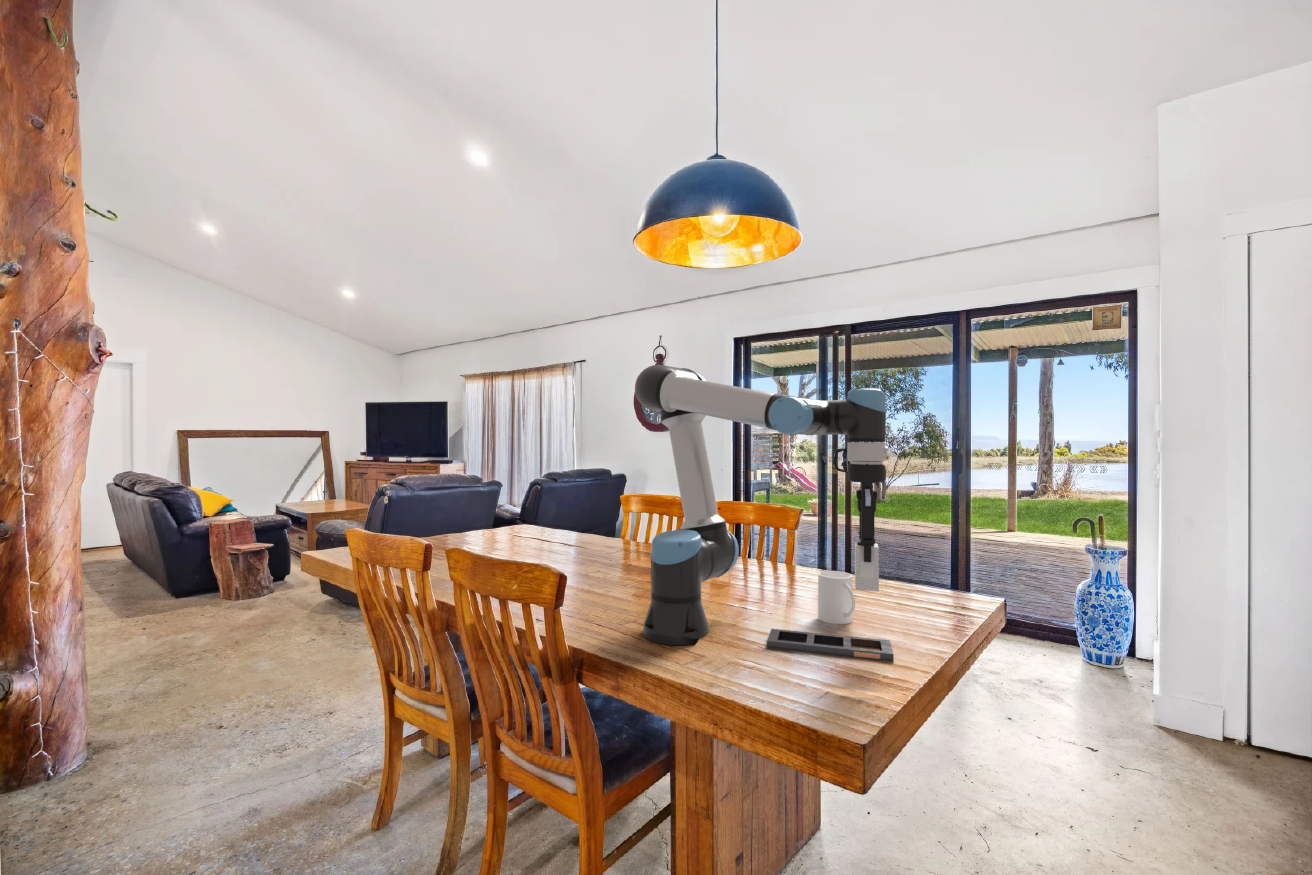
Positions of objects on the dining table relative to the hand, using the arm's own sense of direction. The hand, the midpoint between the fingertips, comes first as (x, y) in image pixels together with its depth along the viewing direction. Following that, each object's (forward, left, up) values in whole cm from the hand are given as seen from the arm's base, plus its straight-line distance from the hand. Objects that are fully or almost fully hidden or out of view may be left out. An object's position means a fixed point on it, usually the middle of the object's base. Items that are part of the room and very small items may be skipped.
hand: (866, 574), depth 122 cm
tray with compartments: (-8, 0, -17) cm, 19 cm away
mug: (-6, +20, -17) cm, 27 cm away
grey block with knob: (0, 0, -3) cm, 3 cm away
